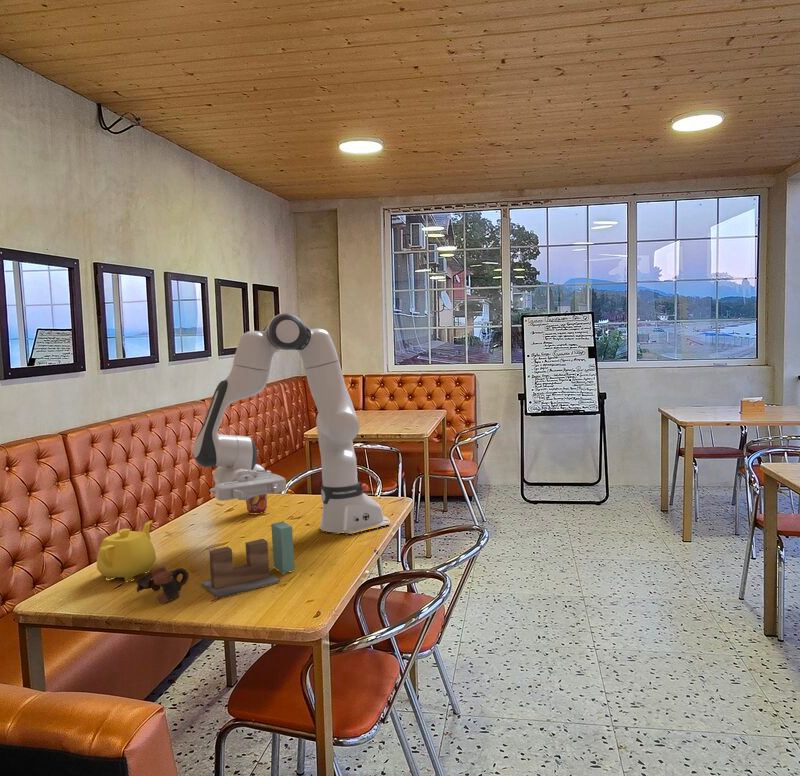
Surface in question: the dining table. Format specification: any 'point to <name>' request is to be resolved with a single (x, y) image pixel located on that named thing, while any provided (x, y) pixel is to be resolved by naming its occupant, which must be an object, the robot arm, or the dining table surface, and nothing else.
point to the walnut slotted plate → (239, 570)
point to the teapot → (126, 554)
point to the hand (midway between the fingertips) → (260, 492)
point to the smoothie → (257, 499)
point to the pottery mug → (163, 583)
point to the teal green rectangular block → (282, 547)
